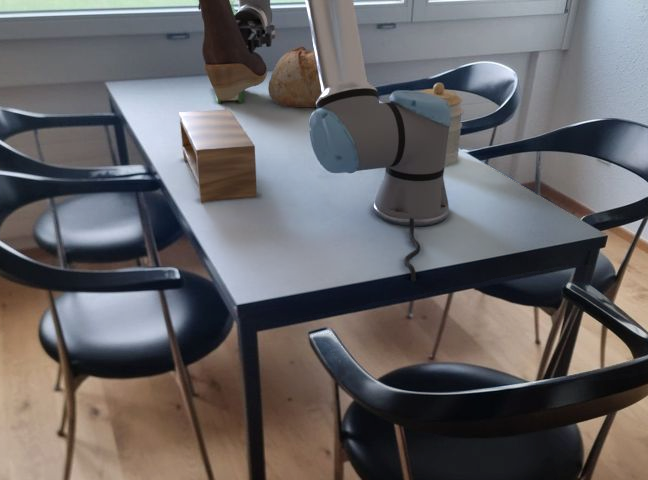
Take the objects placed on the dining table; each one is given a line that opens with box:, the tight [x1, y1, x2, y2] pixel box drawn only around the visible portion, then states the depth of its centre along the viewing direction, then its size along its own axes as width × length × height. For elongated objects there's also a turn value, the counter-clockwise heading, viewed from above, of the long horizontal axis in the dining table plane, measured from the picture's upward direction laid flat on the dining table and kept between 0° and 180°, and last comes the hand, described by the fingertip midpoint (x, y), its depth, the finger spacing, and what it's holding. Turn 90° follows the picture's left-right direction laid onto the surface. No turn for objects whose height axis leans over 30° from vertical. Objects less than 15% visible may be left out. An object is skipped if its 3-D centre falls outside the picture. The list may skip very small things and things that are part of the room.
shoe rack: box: [178, 108, 258, 203], centre depth 155 cm, size 28×12×11 cm, turn 17°
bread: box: [267, 46, 322, 108], centre depth 208 cm, size 26×23×15 cm
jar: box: [420, 82, 465, 166], centre depth 165 cm, size 13×13×18 cm
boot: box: [198, 0, 268, 102], centre depth 137 cm, size 9×24×20 cm, turn 168°
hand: (232, 46), depth 139 cm, fingers closed on boot, 6 cm apart
